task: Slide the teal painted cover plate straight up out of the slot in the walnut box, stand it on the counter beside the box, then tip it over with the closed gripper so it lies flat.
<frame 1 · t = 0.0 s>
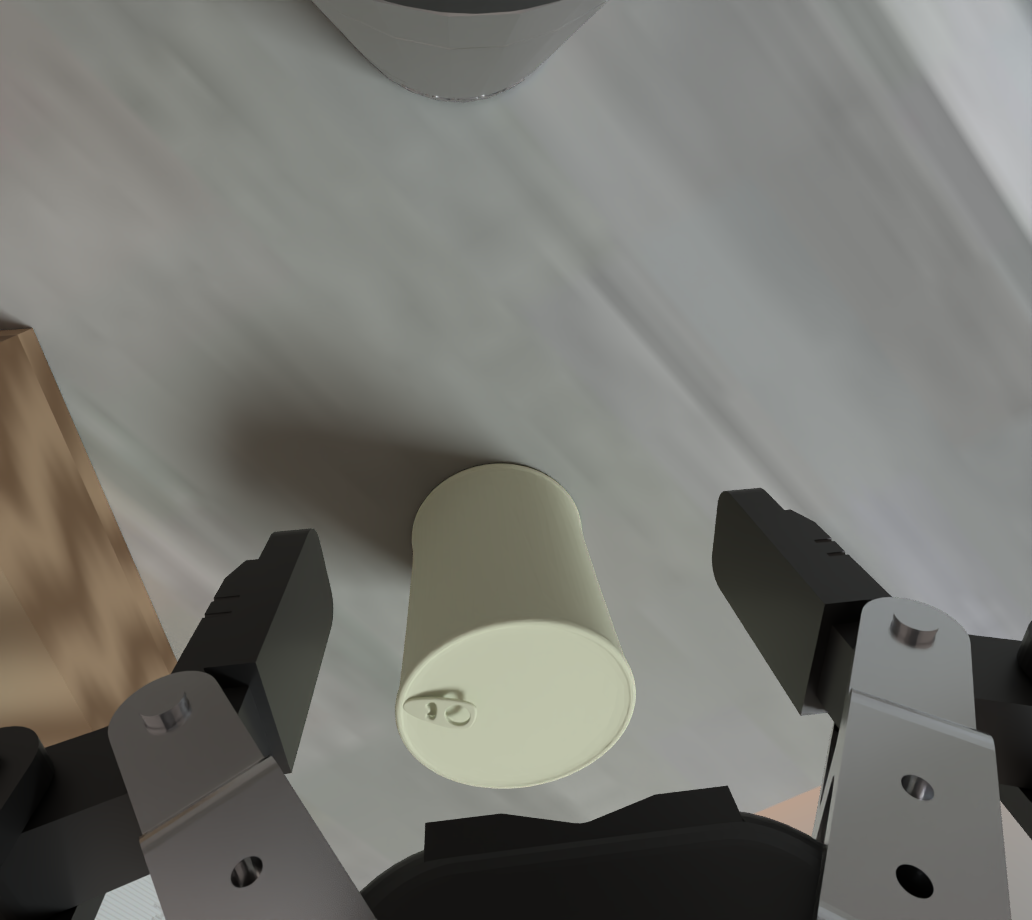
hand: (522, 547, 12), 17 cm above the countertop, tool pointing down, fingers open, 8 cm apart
can: (497, 534, 33), on the countertop
supplement box: (124, 795, 40), on the countertop
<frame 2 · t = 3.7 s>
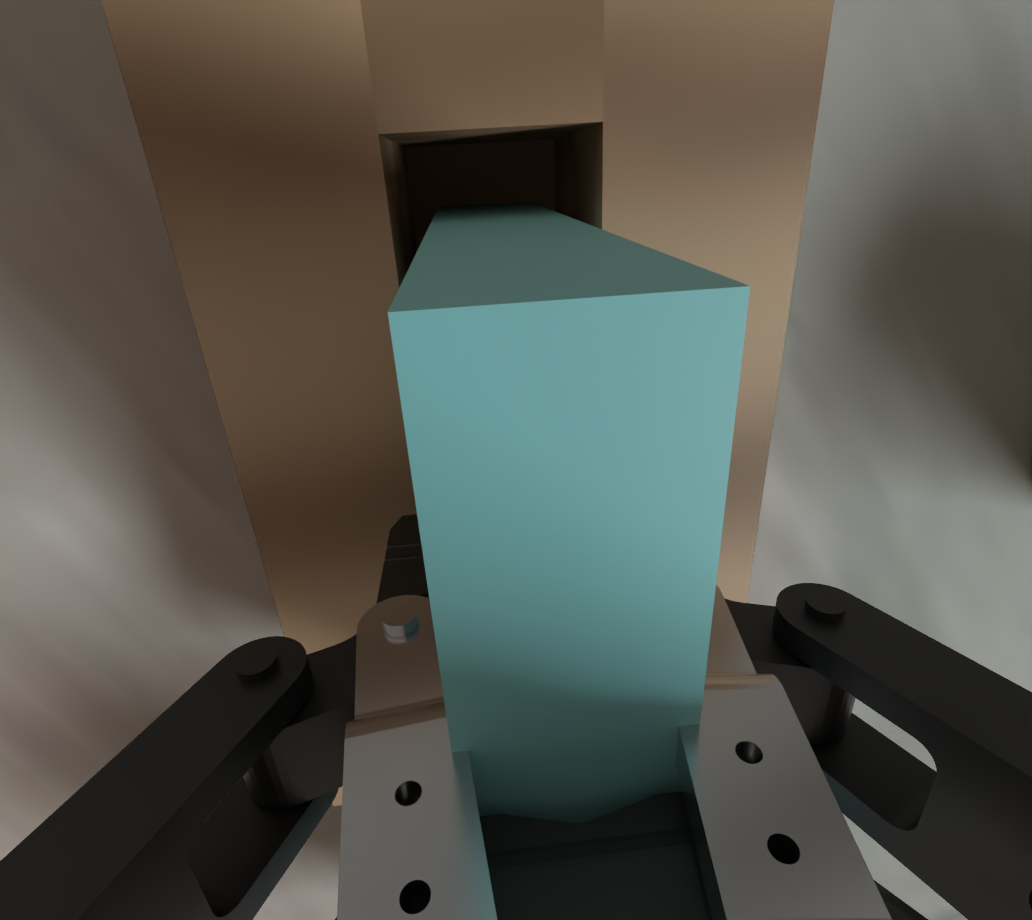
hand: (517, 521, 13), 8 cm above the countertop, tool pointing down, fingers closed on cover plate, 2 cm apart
cover plate: (497, 406, 19), point 1 cm above the countertop, touching gripper, slot box
slot box: (496, 395, 20), on the countertop
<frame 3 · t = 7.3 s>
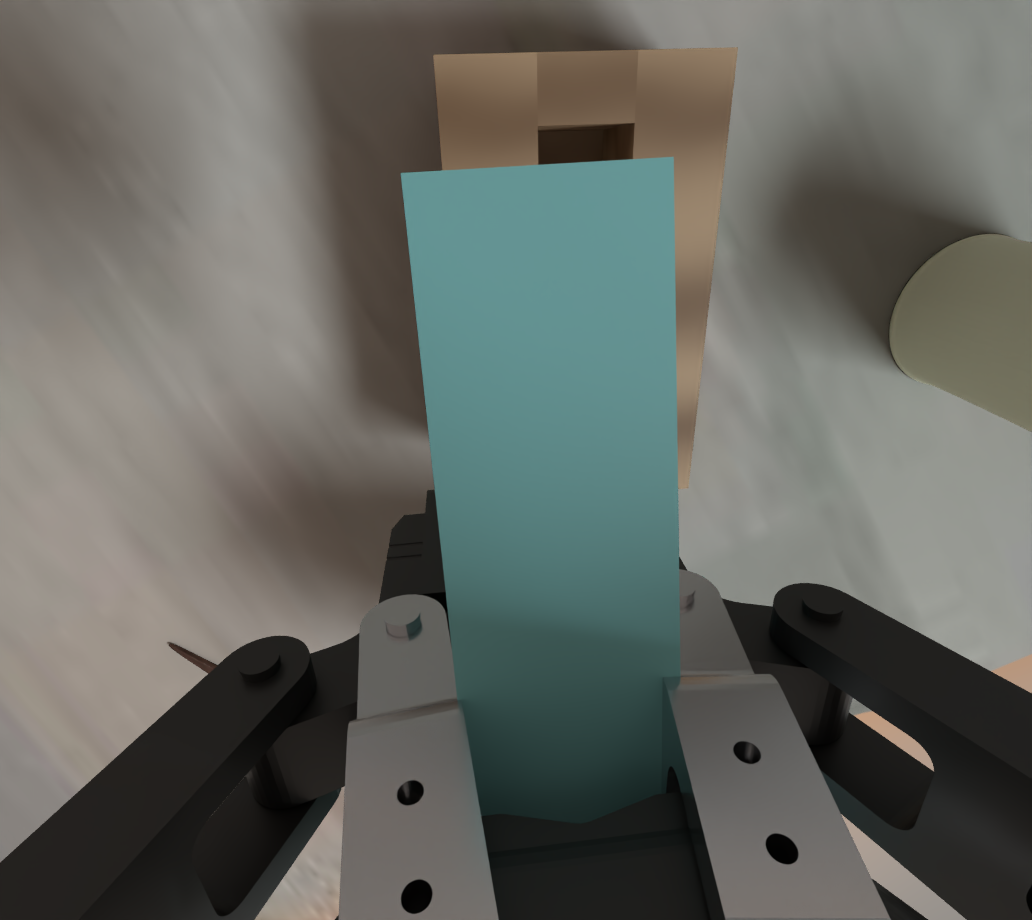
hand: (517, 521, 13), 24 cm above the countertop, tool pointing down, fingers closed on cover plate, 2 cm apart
can: (959, 312, 37), on the countertop
cover plate: (502, 463, 20), point 16 cm above the countertop, tilted 14°, touching gripper
fork: (264, 690, 47), on the countertop
slot box: (560, 282, 34), on the countertop
when the fingers open (9 cm above the countertop, at t = 11.0 s): cover plate drops 3 cm, on the countertop.
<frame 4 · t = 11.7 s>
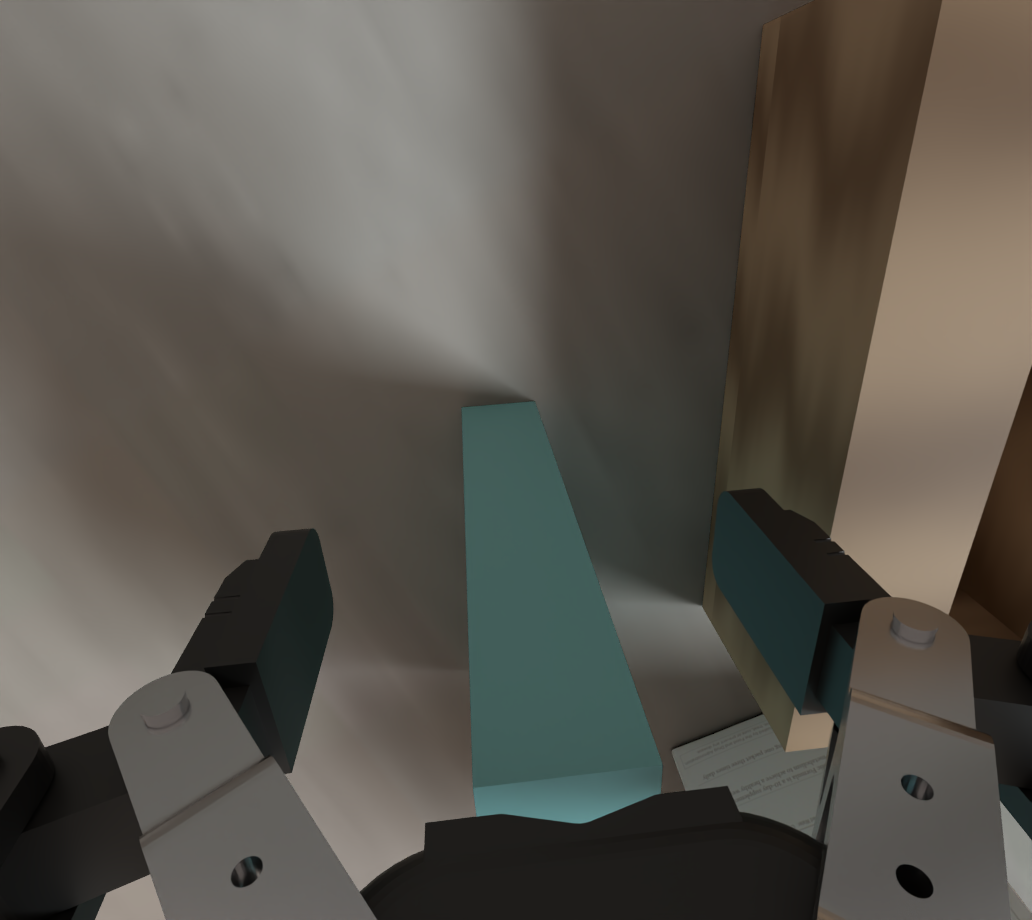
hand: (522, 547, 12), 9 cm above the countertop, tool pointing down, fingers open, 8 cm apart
supplement box: (778, 765, 30), on the countertop
cover plate: (508, 550, 23), on the countertop
slot box: (892, 363, 21), on the countertop
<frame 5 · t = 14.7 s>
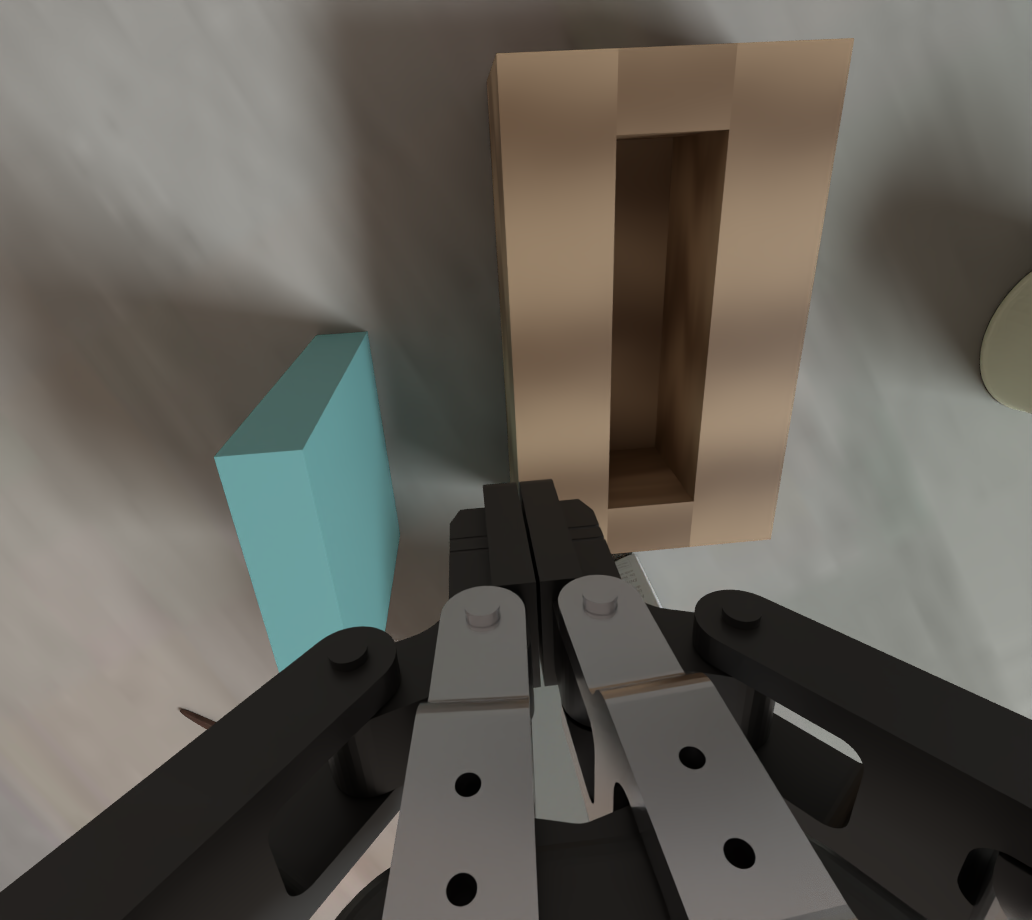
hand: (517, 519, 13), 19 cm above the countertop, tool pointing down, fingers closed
supplement box: (594, 626, 40), on the countertop
cover plate: (361, 443, 32), on the countertop
slot box: (618, 308, 30), on the countertop
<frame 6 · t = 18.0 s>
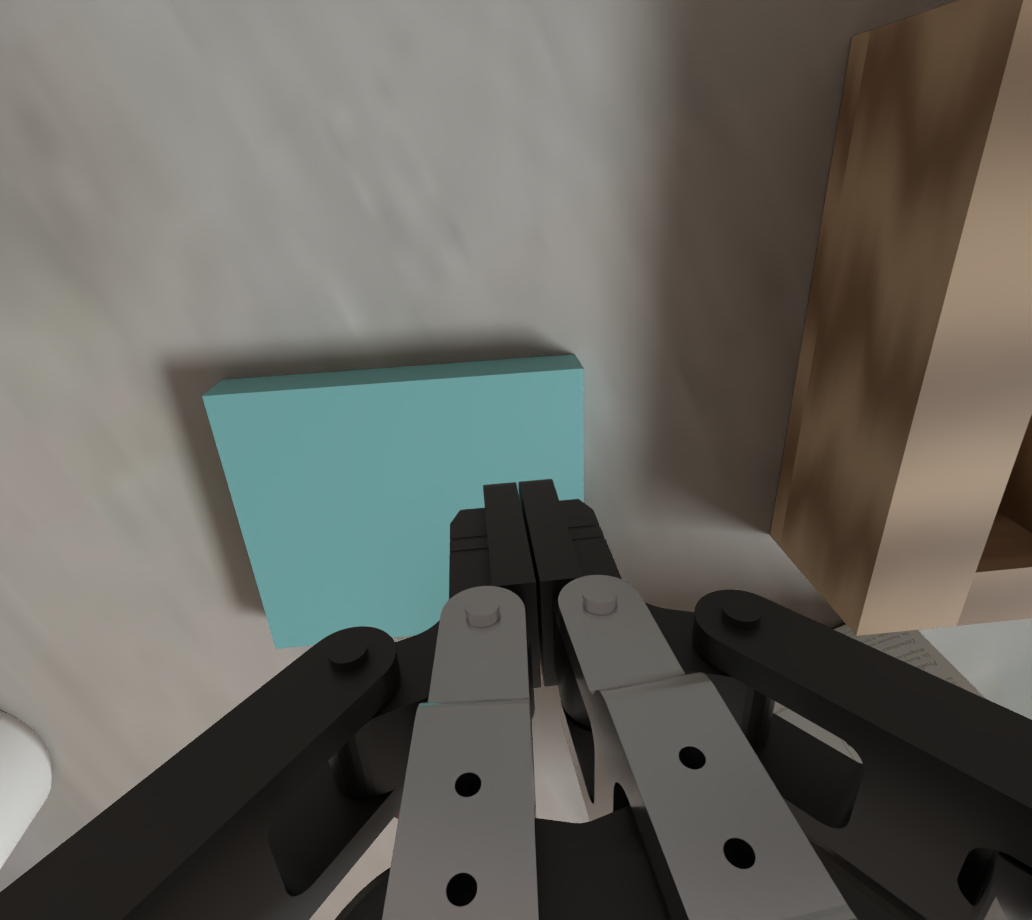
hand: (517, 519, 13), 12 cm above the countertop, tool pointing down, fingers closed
supplement box: (825, 686, 34), on the countertop
cover plate: (578, 492, 26), point 1 cm above the countertop, tilted 90°
slot box: (942, 320, 25), on the countertop
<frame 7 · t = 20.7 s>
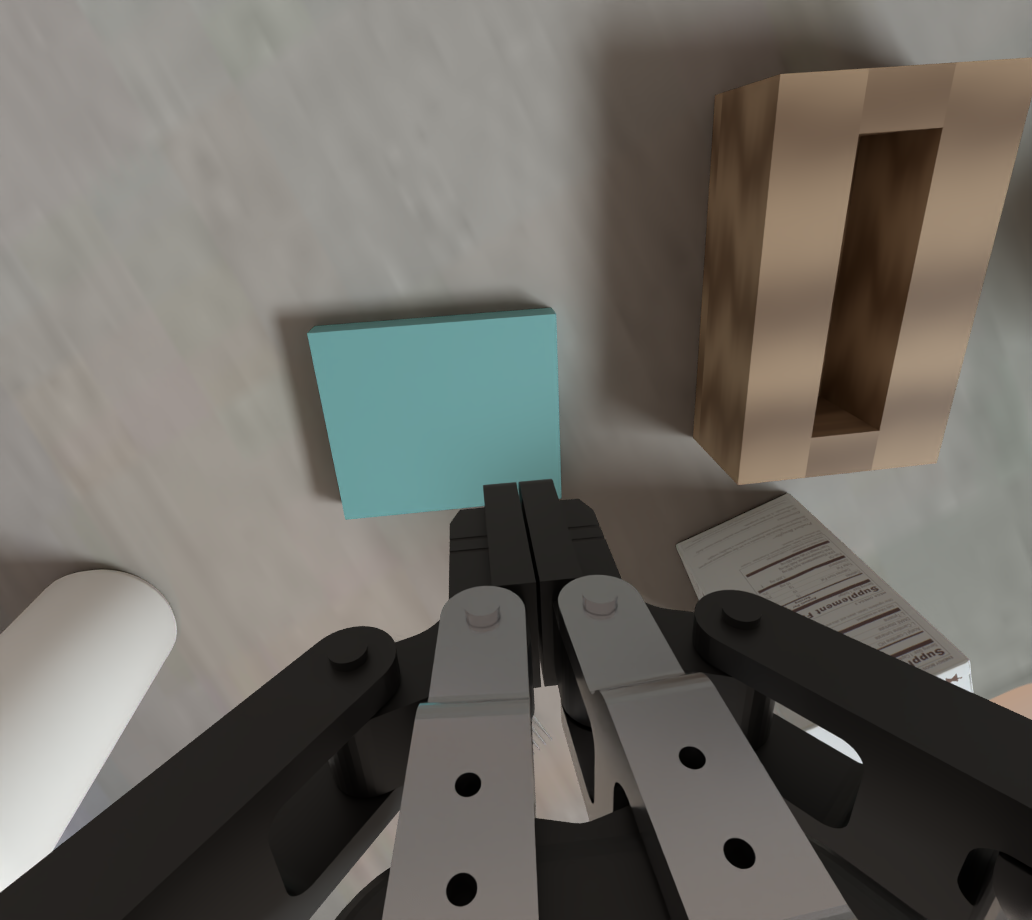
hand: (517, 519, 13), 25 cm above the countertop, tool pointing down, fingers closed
alcohol: (116, 613, 42), on the countertop
supplement box: (746, 561, 46), on the countertop
cover plate: (555, 405, 38), point 1 cm above the countertop, tilted 90°
slot box: (797, 278, 37), on the countertop
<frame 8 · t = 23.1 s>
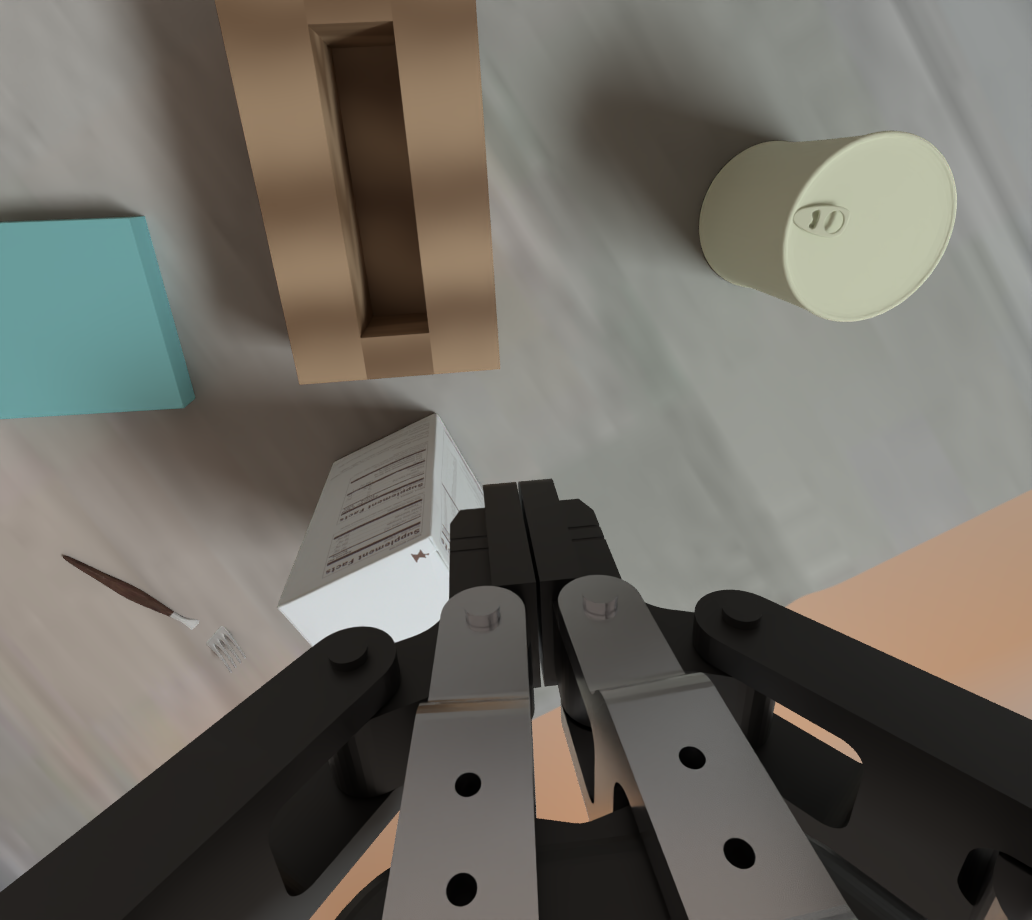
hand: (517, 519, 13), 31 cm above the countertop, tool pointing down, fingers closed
can: (763, 217, 41), on the countertop
supplement box: (414, 483, 47), on the countertop
cover plate: (166, 315, 39), point 1 cm above the countertop, tilted 90°
fork: (162, 601, 50), on the countertop
slot box: (388, 191, 38), on the countertop
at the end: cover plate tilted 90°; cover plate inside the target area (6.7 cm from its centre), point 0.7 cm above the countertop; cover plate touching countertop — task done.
